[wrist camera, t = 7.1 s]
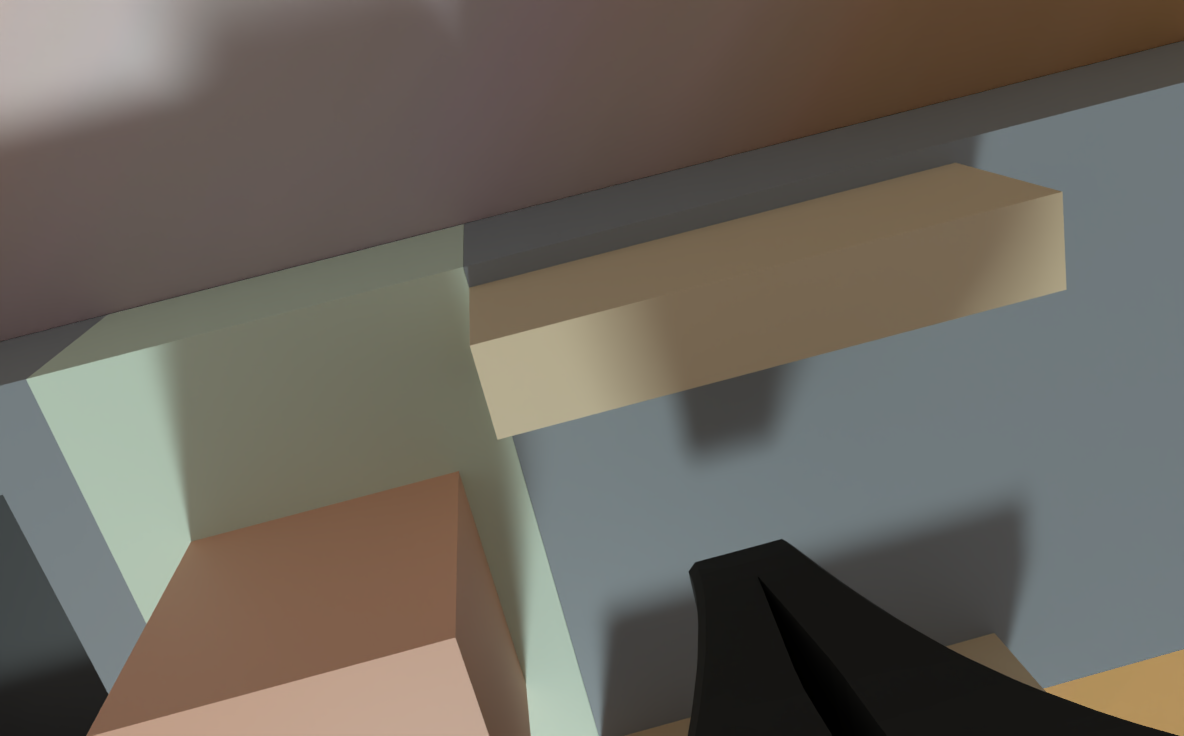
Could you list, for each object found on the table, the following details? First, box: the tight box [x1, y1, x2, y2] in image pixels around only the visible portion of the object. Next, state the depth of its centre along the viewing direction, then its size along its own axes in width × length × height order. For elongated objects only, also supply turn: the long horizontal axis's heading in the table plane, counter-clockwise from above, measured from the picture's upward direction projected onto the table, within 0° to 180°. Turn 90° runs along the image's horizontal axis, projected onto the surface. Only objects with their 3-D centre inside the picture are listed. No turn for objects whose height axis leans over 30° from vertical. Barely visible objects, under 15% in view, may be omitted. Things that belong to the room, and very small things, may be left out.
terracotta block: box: [86, 471, 531, 736], centre depth 12 cm, size 4×4×4 cm
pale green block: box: [26, 224, 599, 736], centre depth 16 cm, size 6×10×3 cm, turn 13°
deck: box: [0, 41, 1184, 736], centre depth 15 cm, size 26×10×6 cm, turn 103°
